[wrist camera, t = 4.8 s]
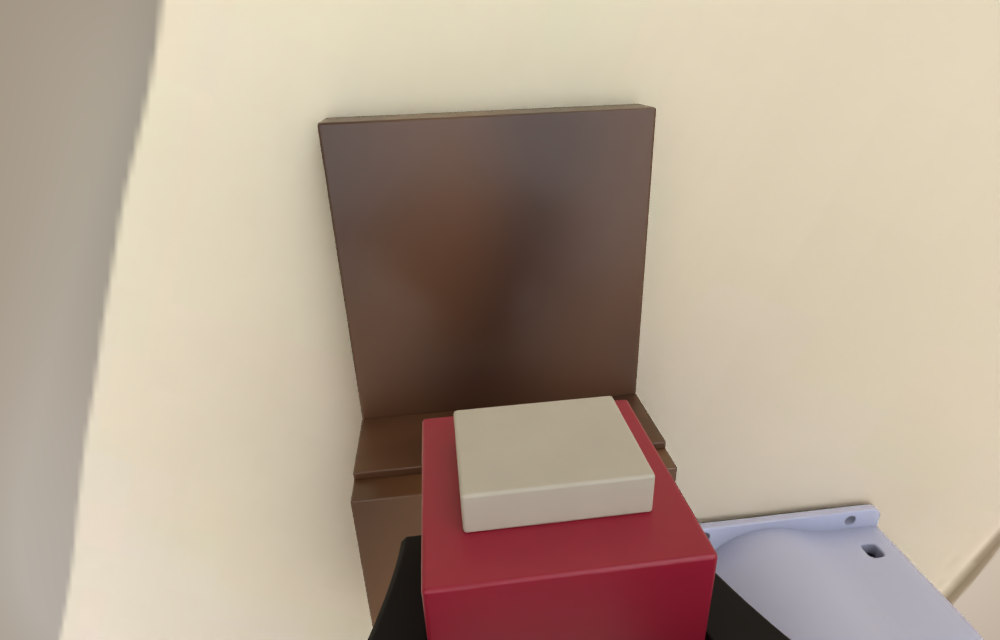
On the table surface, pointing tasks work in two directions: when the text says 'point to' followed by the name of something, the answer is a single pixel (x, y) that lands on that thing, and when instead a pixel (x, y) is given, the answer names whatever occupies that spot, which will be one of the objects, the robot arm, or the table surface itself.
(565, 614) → the red box with cap
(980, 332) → the table surface
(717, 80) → the table surface
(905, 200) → the table surface
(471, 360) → the step shelf
